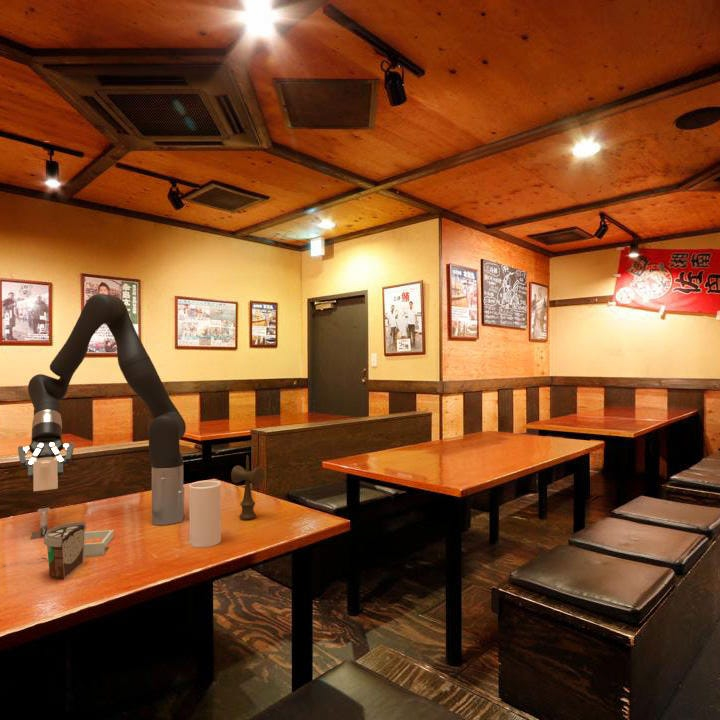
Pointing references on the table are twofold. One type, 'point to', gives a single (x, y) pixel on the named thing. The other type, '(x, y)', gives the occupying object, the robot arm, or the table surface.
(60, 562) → the food container
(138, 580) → the table surface
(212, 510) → the cup
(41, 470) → the cream open box
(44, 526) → the stake stand
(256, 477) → the kendama
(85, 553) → the tray
